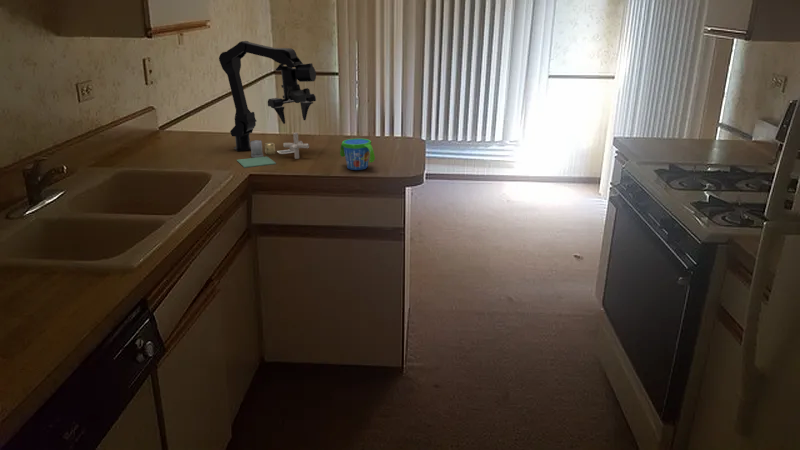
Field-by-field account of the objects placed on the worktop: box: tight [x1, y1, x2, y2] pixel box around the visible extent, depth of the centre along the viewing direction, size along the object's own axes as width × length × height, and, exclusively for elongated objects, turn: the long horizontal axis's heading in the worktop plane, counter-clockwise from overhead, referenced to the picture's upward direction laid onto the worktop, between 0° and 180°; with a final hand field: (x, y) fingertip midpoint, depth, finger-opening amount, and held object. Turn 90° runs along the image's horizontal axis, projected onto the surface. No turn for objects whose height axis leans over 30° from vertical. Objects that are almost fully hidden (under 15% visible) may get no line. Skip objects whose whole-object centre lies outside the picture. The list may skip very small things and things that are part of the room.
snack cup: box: [339, 137, 376, 171], centre depth 228 cm, size 16×10×10 cm
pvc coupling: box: [250, 139, 264, 158], centre depth 246 cm, size 5×5×6 cm
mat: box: [236, 156, 277, 169], centre depth 238 cm, size 12×12×1 cm
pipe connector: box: [283, 132, 310, 160], centre depth 242 cm, size 10×10×10 cm
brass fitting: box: [264, 142, 276, 156], centre depth 251 cm, size 4×4×4 cm
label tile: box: [276, 149, 294, 155], centre depth 254 cm, size 5×8×1 cm, turn 117°
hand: (294, 121), depth 247 cm, fingers open, 9 cm apart
